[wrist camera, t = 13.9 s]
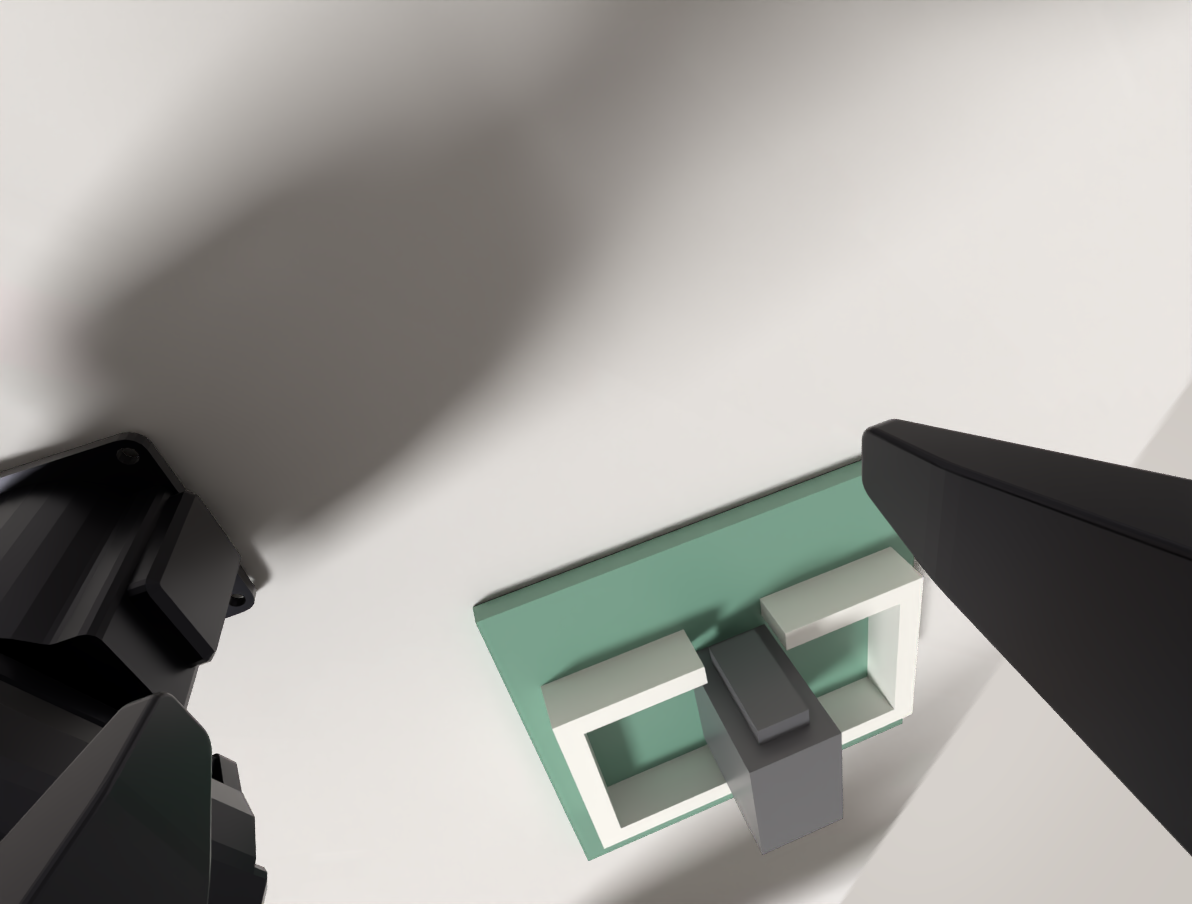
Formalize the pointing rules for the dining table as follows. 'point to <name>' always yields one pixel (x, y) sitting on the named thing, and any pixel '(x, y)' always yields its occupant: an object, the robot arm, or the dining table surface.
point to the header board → (693, 622)
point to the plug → (770, 739)
